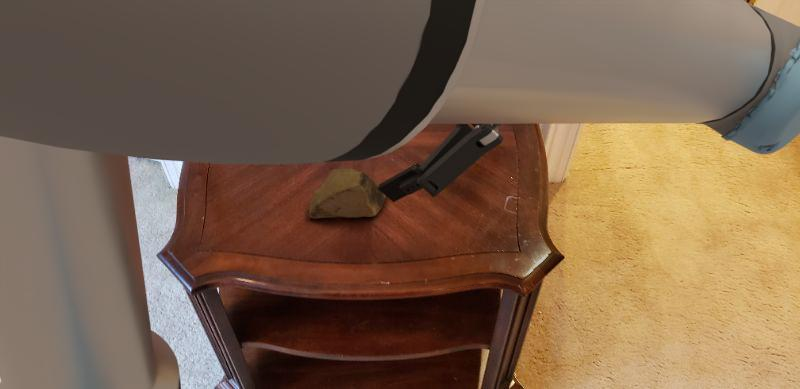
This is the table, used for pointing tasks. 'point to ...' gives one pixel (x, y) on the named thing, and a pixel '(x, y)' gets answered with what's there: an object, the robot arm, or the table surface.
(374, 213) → the rock
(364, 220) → the table surface
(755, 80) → the robot arm
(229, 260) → the table surface
